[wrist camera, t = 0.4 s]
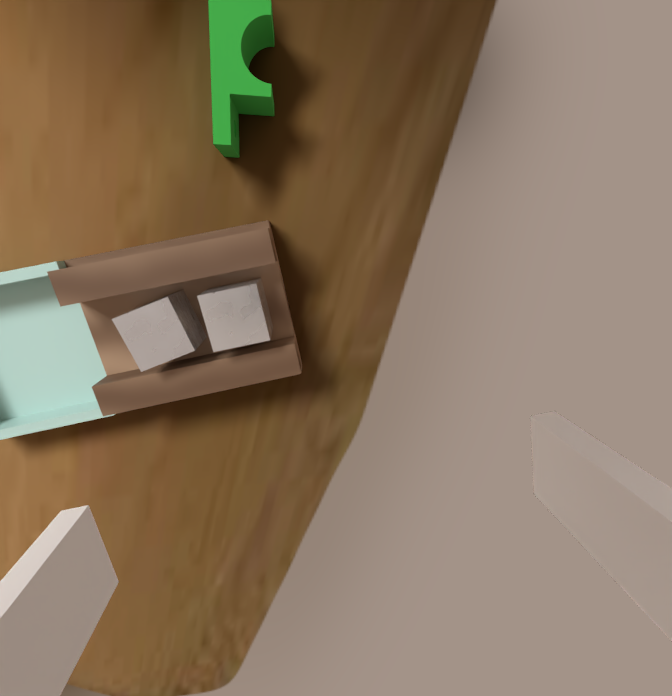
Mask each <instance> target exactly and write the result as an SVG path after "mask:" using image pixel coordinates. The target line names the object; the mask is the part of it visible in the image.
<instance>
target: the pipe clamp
mask: <svg viewBox="0 0 672 696" xmlns="http://www.w3.org/2000/svg"><path fill="white" fill-rule="evenodd" d="M208 3H209V32H210V61H211V90H212V119H213V144H214V145H215V146H216V148H217V149H218V150H219V151H220V152H221V154H222V155H223V156H224V157H236V158H239V114H248V115H262V116H274V99H273V92H272V85H271V84H270V83H265V82H262V81H260V80H259V79H257V78H256V77H254V76H253V75H252V74H251V73H250V71H249V65H250V62H251V60H252V58H253V57H254V55H255V54H256V53H257V52H258V51H260V50H262V49H264V48H266V47H274V25H273V14H272V4H271V0H208Z"/></svg>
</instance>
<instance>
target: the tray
mask: <svg viewBox="0 0 672 696" xmlns="http://www.w3.org/2000/svg"><path fill="white" fill-rule="evenodd" d="M64 268H67V267H66V265H65V262H64V261H56V262H51V263H46V264H41V265H36V266H31V267H26V268H21V269H16V270H11V271H6V272H1V273H0V440H2V439H6V438H11V437H16V436H20V435H25V434H29V433H34V432H39V431H43V430H48V429H53V428H57V427H62V426H67V425H71V424H76V423H81V422H85V421H90V420H95V419H99V418H104V417H108V416H113V415H115V414H112V415H108V416H103V415H102V412H101V410H100V407H99V405H98V402H97V400H96V397H95V394H94V392H93V389H92V386H93V385H95V384H96V383H98V382H99V381H100V380H102V379H103V378H104V377H106V376H107V374H106V372H105V369H104V366H103V364H102V361H101V358H100V356H99V353H98V350H97V348H96V345H95V342H94V340H93V337H92V334H91V332H90V329H89V326H88V324H87V321H86V318H85V316H84V313H83V310H82V308H81V305H80V303H76V304H71V305H66V306H61V307H60V304H59V302H58V299H57V296H56V294H55V291H54V289H53V286H52V284H51V281H50V278H49V276H48V273H47V272H48V271H53V270H58V269H64Z"/></svg>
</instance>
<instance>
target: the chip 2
mask: <svg viewBox="0 0 672 696" xmlns="http://www.w3.org/2000/svg"><path fill="white" fill-rule="evenodd" d="M197 297H198V301H199V304H200V308H201V311H202V315H203V318H204V321H205V325H206V328H207V332H208V335H209V339H210V342H211V346H212V349H213V352H217V351H222V350H226V349H231V348H236V347H241V346H245V345H250V344H255V343H260V342H264V341H269V340H270V339H271V335H272V331H273V325H272V321H271V317H270V313H269V309H268V305H267V301H266V296H265V292H264V288H263V284H262V280H261V278H258V279H254V280H249V281H244V282H239V283H234V284H229V285H224V286H219V287H214V288H209V289H208V290H206V291H204V292H203V293H201V294H199V295H198V296H197Z"/></svg>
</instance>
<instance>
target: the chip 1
mask: <svg viewBox="0 0 672 696" xmlns="http://www.w3.org/2000/svg"><path fill="white" fill-rule="evenodd" d="M112 321H113V323H114V324H115V326H116V328H117V330H118V331H119V333H120V335H121V337H122V339H123V340H124V342H125V344H126V346H127V348H128V349H129V351H130V353H131V355H132V356H133V358H134V360H135V362H136V364H137V365H138V367H139V369H140V371H141V372H143V371H145V370H148V369H150V368H153V367H155V366H158V365H160V364H163V363H165V362H168V361H170V360H173V359H175V358H178V357H180V356H183V355H185V354H188V353H190V352H193V351H195V350H196V349H197V348H198V347H199V346H200V344H201V343H202V342H203V341H204V340H205V339H206V338H207V336H206V334H205V332H204V330H203V328H202V326H201V324H200V322H199V320H198V318H197V316H196V314H195V312H194V310H193V308H192V306H191V304H190V302H189V300H188V298H187V295H186V293H185V291H184V289H183V290H181V291H178V292H176V293H173V294H171V295H168V296H166V297H163V298H161V299H158V300H156V301H153V302H151V303H148V304H146V305H143V306H141V307H138V308H136V309H133V310H131V311H129V312H127V313H124V314H122V315H120V316H118V317H115V318H113V319H112Z"/></svg>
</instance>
